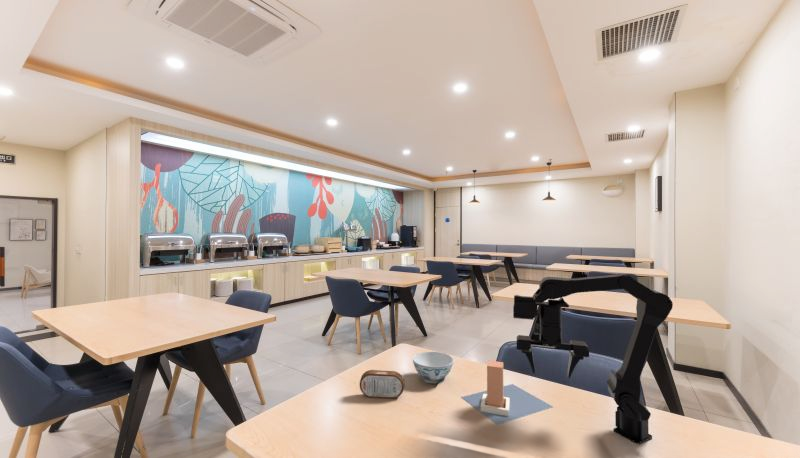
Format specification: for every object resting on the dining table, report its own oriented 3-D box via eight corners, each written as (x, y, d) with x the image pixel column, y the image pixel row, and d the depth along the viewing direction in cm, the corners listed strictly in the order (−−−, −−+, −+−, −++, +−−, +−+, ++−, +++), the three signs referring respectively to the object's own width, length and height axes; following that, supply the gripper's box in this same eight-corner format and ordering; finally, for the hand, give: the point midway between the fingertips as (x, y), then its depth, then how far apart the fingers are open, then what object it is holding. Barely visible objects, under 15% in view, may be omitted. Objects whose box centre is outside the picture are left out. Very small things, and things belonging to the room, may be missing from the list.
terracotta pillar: (503, 404, 102) (503, 362, 102) (502, 412, 97) (502, 367, 98) (488, 402, 103) (488, 360, 103) (487, 409, 99) (487, 365, 99)
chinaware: (405, 375, 126) (405, 355, 126) (439, 368, 132) (439, 349, 132) (425, 392, 112) (425, 369, 112) (461, 384, 118) (461, 362, 119)
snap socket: (509, 402, 103) (509, 397, 103) (509, 416, 95) (508, 410, 95) (483, 398, 105) (483, 393, 105) (480, 411, 98) (480, 405, 98)
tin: (404, 395, 110) (404, 370, 110) (404, 400, 107) (404, 374, 107) (360, 393, 111) (360, 368, 112) (358, 398, 108) (358, 372, 108)
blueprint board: (553, 410, 100) (553, 406, 100) (497, 429, 91) (497, 424, 91) (512, 387, 116) (512, 383, 116) (460, 400, 106) (460, 397, 106)
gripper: (581, 317, 100) (582, 369, 100) (516, 312, 106) (516, 361, 106) (589, 326, 89) (589, 384, 89) (516, 320, 96) (516, 374, 95)
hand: (551, 375), depth 95 cm, fingers open, 9 cm apart
